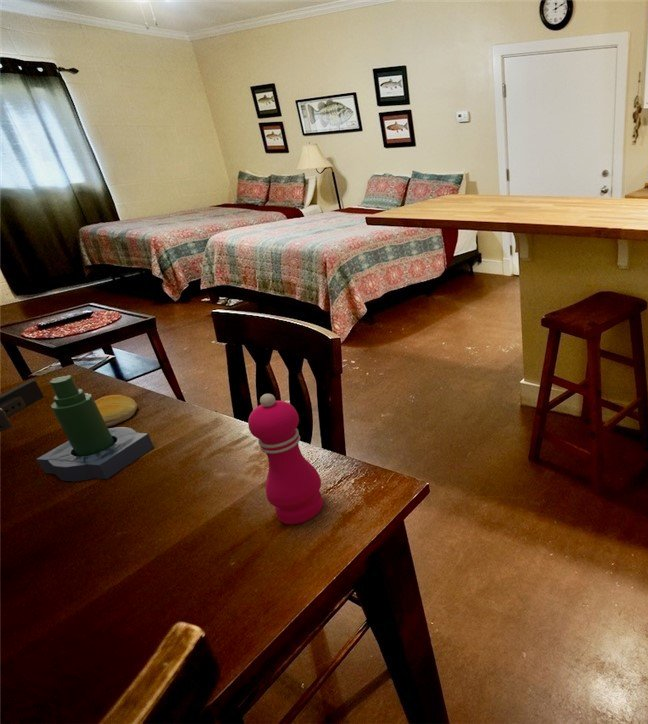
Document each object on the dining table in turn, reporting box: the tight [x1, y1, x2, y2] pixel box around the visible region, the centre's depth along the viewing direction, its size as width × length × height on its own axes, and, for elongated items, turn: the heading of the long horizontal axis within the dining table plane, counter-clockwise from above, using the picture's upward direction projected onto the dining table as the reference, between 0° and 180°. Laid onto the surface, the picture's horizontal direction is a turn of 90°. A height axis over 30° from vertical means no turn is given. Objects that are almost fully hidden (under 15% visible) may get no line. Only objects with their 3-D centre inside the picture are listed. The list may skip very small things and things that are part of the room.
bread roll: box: [94, 394, 138, 428], centre depth 94 cm, size 8×9×4 cm
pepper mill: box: [247, 393, 324, 525], centre depth 67 cm, size 7×7×20 cm
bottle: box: [49, 375, 115, 457], centre depth 79 cm, size 5×5×16 cm
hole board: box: [36, 426, 155, 483], centre depth 82 cm, size 12×11×3 cm
